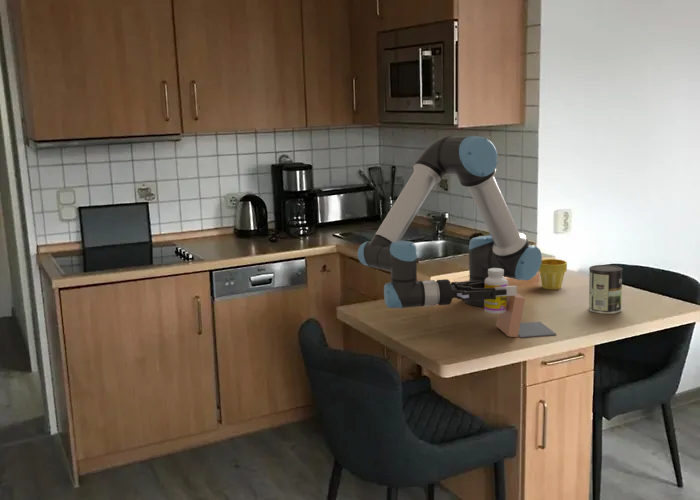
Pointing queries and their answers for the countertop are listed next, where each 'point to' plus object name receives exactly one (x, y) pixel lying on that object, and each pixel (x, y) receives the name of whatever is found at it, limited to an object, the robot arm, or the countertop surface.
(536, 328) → the mat
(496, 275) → the supplement bottle
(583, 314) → the countertop surface
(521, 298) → the pink flat block
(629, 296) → the countertop surface
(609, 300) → the coffee can
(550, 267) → the plant pot
